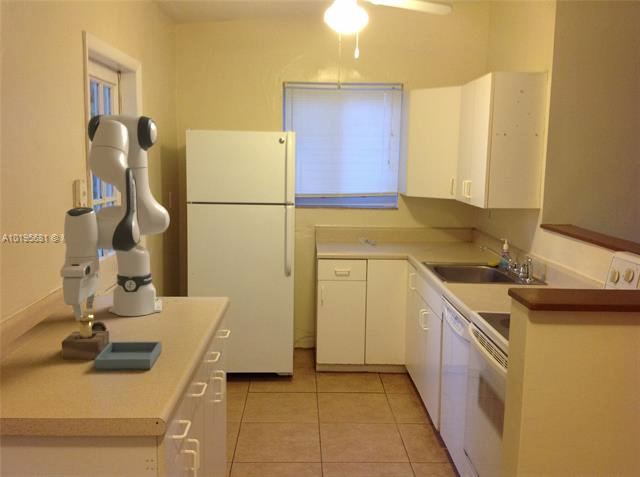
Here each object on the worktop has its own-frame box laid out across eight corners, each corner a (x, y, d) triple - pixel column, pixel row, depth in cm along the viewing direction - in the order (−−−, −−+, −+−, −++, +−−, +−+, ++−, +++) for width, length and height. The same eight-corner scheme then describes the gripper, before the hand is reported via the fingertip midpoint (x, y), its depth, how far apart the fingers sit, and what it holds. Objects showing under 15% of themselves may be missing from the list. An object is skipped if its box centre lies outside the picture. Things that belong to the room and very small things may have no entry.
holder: (75, 347, 171) (74, 331, 171) (109, 346, 172) (108, 330, 171) (62, 358, 162) (61, 341, 161) (98, 358, 162) (98, 341, 162)
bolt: (102, 336, 187) (97, 350, 173) (88, 330, 186) (81, 343, 172) (111, 321, 188) (106, 333, 173) (96, 314, 186) (91, 326, 172)
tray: (111, 351, 168) (110, 341, 168) (161, 351, 169) (161, 341, 169) (94, 370, 154) (94, 359, 153) (150, 369, 155) (150, 359, 154)
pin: (81, 350, 169) (79, 313, 167) (97, 350, 169) (96, 313, 168) (75, 355, 164) (73, 317, 163) (92, 355, 165) (90, 317, 163)
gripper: (83, 258, 173) (85, 303, 175) (57, 272, 153) (60, 322, 155) (105, 258, 174) (106, 303, 175) (81, 272, 153) (84, 322, 155)
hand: (84, 312), depth 165 cm, fingers open, 8 cm apart
